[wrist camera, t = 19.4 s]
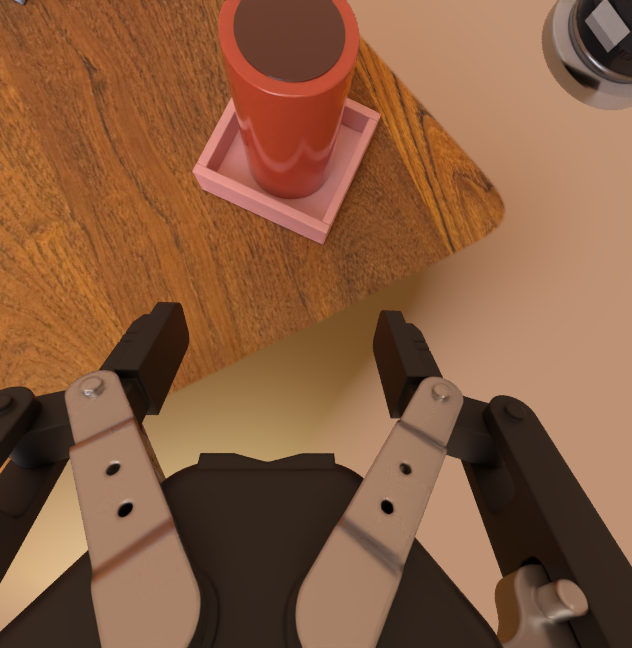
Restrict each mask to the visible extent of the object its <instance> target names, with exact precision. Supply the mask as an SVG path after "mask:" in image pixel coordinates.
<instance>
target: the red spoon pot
mask: <svg viewBox="0 0 632 648" xmlns="http://www.w3.org/2000/svg"><path fill="white" fill-rule="evenodd" d="M218 34H219V41H220V45H221V50H222V54H223V59H224V63H225V68H226V72H227V76H228V81H229V85H230V90H231V94H232V99H233V103H234V107H235V112H236V116H237V121H238V125H239V130H240V134H241V138H242V143H243V147H244V152H245V156H246V161H247V165H248V168H249V171H250V174H251V176H252V177H253V179H254V180H255V182H256V183H257V184H258V185H259V186H260V187H261V188H262V189H263V190H265V191H266V192H268V193H270V194H271V195H274V196H276V197H279V198H284V199H300V198H304V197H307V196H309V195H311V194H313V193H315V192H316V191H317V190H319V189H320V188H321V187H322V186H323V185H324V183H325V182H326V181H327V179H328V177H329V175H330V172H331V168H332V163H333V159H334V155H335V150H336V146H337V142H338V137H339V133H340V129H341V124H342V120H343V116H344V111H345V107H346V103H347V98H348V94H349V90H350V85H351V81H352V77H353V72H354V68H355V64H356V59H357V55H358V51H359V42H360V39H359V29H358V24H357V21H356V18H355V15H354V13H353V11H352V9H351V7H350V5H349V4H348V2H347V1H346V0H225V1H224V3H223V5H222V8H221V12H220V15H219V22H218Z"/></svg>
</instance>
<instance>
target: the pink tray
mask: <svg viewBox="0 0 632 648" xmlns="http://www.w3.org/2000/svg"><path fill="white" fill-rule="evenodd" d="M380 116H381V114H380V113H378V112H376V111H374V110H372V109H369V108H367V107H365V106H363V105H361V104H359V103H357V102H355V101H353V100H351V99H349V98H347V103H346V107H345V111H344V116H343V120H342V124H341V129H340V133H339V137H338V142H337V146H336V150H335V155H334V159H333V163H332V168H331V172H330V175H329V177H328V179H327V181H326V182H325V183H324V185H323V186H322V187H321V188H320V189H319V190H317V191H316V192H315V193H313V194H311V195H309V196H307V197H304V198H300V199H284V198H279V197H276V196H274V195H271V194H270V193H268V192H266V191H265V190H263V189H262V188H261V187H260V186H259V185H258V184H257V183H256V182H255V180H254V179H253V177H252V176H251V174H250V171H249V168H248V165H247V161H246V156H245V152H244V147H243V143H242V138H241V134H240V130H239V125H238V121H237V116H236V112H235V107H234V103H233V99H232V98H231V99H230V101H229V103H228V105H227V107H226V109H225V111H224V113H223V115H222V116H221V118H220V120H219V122H218V124H217V126H216V128H215V130H214V132H213V133H212V135H211V137H210V139H209V141H208V143H207V145H206V147H205V149H204V150H203V152H202V154H201V156H200V158H199V160H198V162H197V164H196V165H195V167H194V169H193V173H194V175H195V177H196V179H197V180H198V182H199V184H200V186H201V188H202V189H203V190H205V191H208V192H210V193H212V194H214V195H216V196H218V197H221V198H223V199H225V200H227V201H229V202H231V203H233V204H236V205H238V206H240V207H242V208H244V209H246V210H249V211H251V212H253V213H255V214H257V215H259V216H262V217H264V218H266V219H268V220H270V221H272V222H275V223H277V224H279V225H281V226H283V227H285V228H287V229H290V230H292V231H294V232H296V233H298V234H300V235H303V236H305V237H307V238H309V239H311V240H313V241H316V242H318V243H320V244H322V245H323V244H324V242H325V240H326V238H327V236H328V233H329V231H330V229H331V227H332V225H333V222H334V220H335V218H336V216H337V214H338V211H339V209H340V207H341V205H342V203H343V200H344V198H345V196H346V194H347V192H348V189H349V187H350V185H351V183H352V181H353V179H354V176H355V174H356V172H357V170H358V168H359V165H360V163H361V161H362V159H363V157H364V154H365V152H366V150H367V148H368V146H369V143H370V141H371V139H372V137H373V134H374V132H375V129H376V127H377V124H378V121H379V119H380Z"/></svg>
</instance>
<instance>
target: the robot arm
mask: <svg viewBox="0 0 632 648" xmlns="http://www.w3.org/2000/svg"><path fill="white" fill-rule="evenodd" d="M568 31H569V37H570V40H571V44H572V46H573V48H574V50H575V52H576V54H577V56H578V57H579V58H580V60H581V61H582V62H583V63H584V65H585V66H586V67H587V68H588V69H590V70H591V71H592V72H593V73H595V74H596V75H598V76H599V77H601V78H603V79H605V80H608V81H610V82H614V83H618V84H632V0H576V1H575V3H574V4H573V6H572V8H571V11H570V14H569V20H568ZM188 344H189V331H188V328H187V324H186V320H185V316H184V312H183V308H182V305H181V304H180V303H176V302H158V303H157V304H156V306H155V307H154V309H153V310H152V312H151V313H150V314H144V315H142V316H141V317H140V318H138V319H137V320H135V321H134V322H133V323H132V324H131V325H130V327H129V328H128V330H127V331H126V334H124V335H123V337H122V338H121V340H120V342H118V344H117V345H116V347H115V348H114V349H113V351H112V352H111V354H110V355H109V356H108V358H107V359H106V361H105V362H104V364H103V365H102V366H101V368H100V369H99V371H94V372H90V373H87V374H85V375H83V376H81V377H79V378H78V379H76V380H75V381H74V382H72V383H71V384H70V385H69V387H68V388H67V390H65V391H60V392H55V393H51V394H46V395H41V396H37V397H36V396H35V395H34V394H33V392H32V391H31V390H30V389H28V388H26V387H10V388H6V389H2V390H0V468H1V466H2V465H3V464H4V462H5V461H6V459H7V458H8V457H9V458H10V459H11V460H10V461H9V463H8V464H7V465H6V467H5V468H4V470H3V471H2V473H1V474H0V583H1V581H2V579H3V577H4V576H5V574H6V572H7V570H8V568H9V567H10V565H11V563H12V561H13V559H14V558H15V556H16V554H17V552H18V550H19V549H20V547H21V545H22V543H23V541H24V540H25V538H26V536H27V534H28V532H29V530H30V529H31V527H32V525H33V523H34V521H35V520H36V518H37V516H38V514H39V513H40V511H41V509H42V507H43V505H44V504H45V502H46V500H47V498H48V496H49V494H50V492H51V491H52V489H53V487H54V486H55V484H56V482H57V480H58V478H59V477H60V475H61V473H62V471H63V469H64V467H65V466H66V464H67V462H68V460H69V459H70V460H71V465H72V470H73V475H74V480H75V485H76V490H77V495H78V500H79V505H80V510H81V515H82V520H83V524H84V530H85V535H86V540H87V545H88V551H87V552H86V553H84V555H82V556H81V557H80V558H79V559H78V560H77V561H76V562H75V563H74V564H73V565H72V566H70V567H69V568H68V569H67V570H66V571H65V572H64V573H63V574H62V575H61V576H60V577H59V578H58V579H56V580H55V581H54V582H53V583H52V584H51V585H50V586H49V587H48V588H47V589H46V590H45V591H43V592H42V593H41V594H40V595H39V596H38V597H37V598H36V599H35V600H34V601H33V602H32V603H31V604H30V605H28V606H27V607H26V608H25V609H24V610H23V611H22V612H21V613H20V614H19V615H18V616H17V617H16V618H15V619H13V620H12V621H11V622H10V623H9V624H8V625H7V626H6V627H5V628H4V629H3V630H2V631H0V648H632V566H631V565H630V563H629V562H628V560H627V558H626V557H625V555H624V554H623V552H622V551H621V549H620V548H619V546H618V544H617V543H616V541H615V540H614V538H613V537H612V535H611V533H610V532H609V530H608V528H607V527H606V525H605V524H604V522H603V521H602V519H601V517H600V516H599V514H598V513H597V511H596V509H595V508H594V507H593V505H592V503H591V502H590V500H589V498H588V497H587V495H586V494H585V492H584V491H583V489H582V488H581V486H580V484H579V483H578V481H577V479H576V478H575V476H574V475H573V473H572V472H571V470H570V469H569V467H568V465H567V464H566V462H565V461H564V459H563V457H562V456H561V454H560V453H559V451H558V449H557V448H556V446H555V445H554V443H553V442H552V440H551V438H550V437H549V435H548V434H547V432H546V431H545V429H544V427H543V426H542V424H541V423H540V421H539V420H538V418H537V416H536V415H535V413H534V412H533V411H532V410H531V409H530V408H529V407H528V406H527V405H526V404H524V403H523V402H521V401H520V400H518V399H516V398H513V397H510V396H504V395H499V396H496V397H494V398H493V399H492V400H491V401H490V403H486V402H482V401H478V400H475V399H471V398H468V397H465V396H463V395H462V393H461V391H460V390H459V389H458V388H457V387H456V386H455V385H454V384H453V383H451V382H450V381H448V380H446V379H443V377H442V375H441V373H440V371H439V368H438V366H437V364H436V362H435V360H434V358H433V356H432V354H431V351H429V347H428V345H427V343H426V341H425V339H424V337H423V335H422V333H421V331H420V330H419V329H418V328H417V327H416V326H415V325H413V324H411V323H406V322H405V320H404V318H403V315H402V313H401V311H388V310H382V311H381V312H380V315H379V319H378V323H377V327H376V331H375V335H374V340H373V352H374V356H375V360H376V363H377V368H378V371H379V375H380V379H381V383H382V387H383V390H384V394H385V398H386V402H387V406H388V409H389V413H390V417H391V418H401V419H400V420H398V421H397V422H396V424H395V426H394V427H393V429H392V431H391V433H390V435H389V436H388V438H387V440H386V442H385V443H384V445H383V447H382V449H381V450H380V452H379V454H378V455H377V457H376V459H375V461H374V463H373V464H372V466H371V467H370V469H369V471H368V473H367V474H366V476H365V478H363V477H361V476H360V475H359V474H357V473H356V472H354V471H352V470H351V469H349V468H347V467H344V466H342V465H339V464H335V458H334V453H332V454H331V453H322V454H321V453H312V454H311V453H303V454H298V455H294V456H290V457H286V458H282V459H279V460H274V461H270V462H265V461H261V460H257V459H253V458H250V457H246V456H242V455H239V454H235V453H201V454H200V457H199V461H198V464H195V465H192V466H190V467H187V468H184V469H182V470H180V471H178V472H176V473H174V474H173V475H171V476H169V477H168V478H167V479H166V478H165V476H164V474H163V472H162V469H161V467H160V465H159V463H158V460H157V458H156V455H155V453H154V451H153V448H152V446H151V443H150V441H149V439H148V436H147V434H146V431H145V429H144V427H143V425H142V422H143V420H144V418H145V416H146V415H159V412H160V410H161V408H162V405H163V403H164V401H165V398H166V396H167V394H168V392H169V389H170V387H171V385H172V382H173V380H174V378H175V376H176V373H177V371H178V369H179V366H180V364H181V362H182V359H183V357H184V355H185V353H186V350H187V348H188ZM446 455H449V456H452V457H455V458H459V459H461V462H462V464H463V467H464V470H465V473H466V476H467V478H468V481H469V484H470V487H471V489H472V492H473V495H474V498H475V501H476V504H477V506H478V509H479V512H480V515H481V517H482V520H483V523H484V526H485V528H486V532H487V534H488V537H489V540H490V543H491V545H492V548H493V551H494V554H495V557H496V560H497V562H498V565H499V568H500V571H501V573H502V576H503V578H502V579H501V580H500V581H499V582H498V584H497V586H496V589H495V603H496V608H497V613H498V620H499V625H498V632H497V635H496V634H495V632H494V631H493V629H492V628H491V627H490V625H489V624H488V623H487V621H486V620H485V619H484V618H483V617H482V615H481V614H480V613H479V612H478V611H477V609H476V608H475V607H474V606H473V605H472V604H471V602H470V601H469V600H468V599H467V598H466V597H465V595H464V594H463V593H462V592H461V591H460V589H459V588H458V587H457V586H456V585H455V584H454V583H453V581H452V580H451V579H450V578H449V577H448V575H447V574H446V573H445V572H444V571H443V570H442V568H441V567H440V566H439V565H438V564H437V563H436V561H435V560H434V559H433V558H432V557H431V556H430V554H429V553H428V552H427V551H426V550H425V548H424V547H423V546H422V545H421V544H420V542H419V541H418V540H417V539H416V538H415V535H416V532H417V530H418V527H419V524H420V521H421V519H422V517H423V514H424V511H425V509H426V506H427V503H428V501H429V498H430V495H431V493H432V490H433V488H434V485H435V482H436V479H437V477H438V474H439V472H440V469H441V466H442V464H443V461H444V459H445V456H446Z"/></svg>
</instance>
